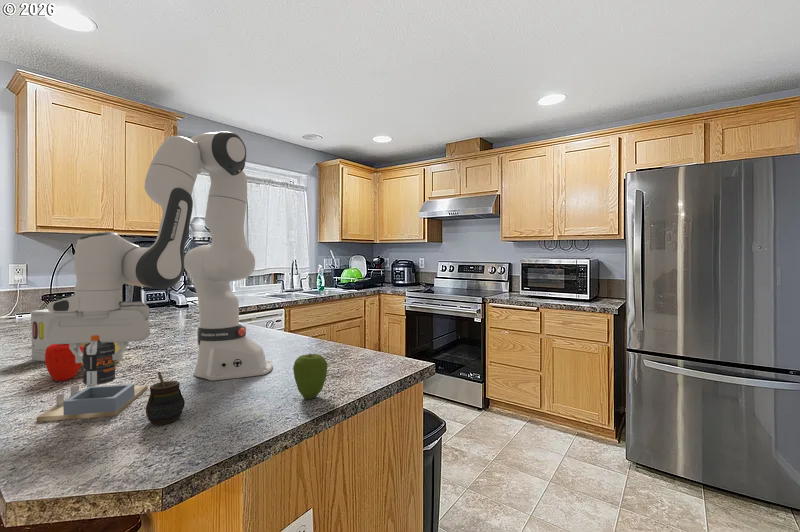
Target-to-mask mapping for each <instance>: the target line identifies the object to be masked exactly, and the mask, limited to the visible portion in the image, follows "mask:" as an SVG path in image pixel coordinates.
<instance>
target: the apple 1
mask: <svg viewBox="0 0 800 532" xmlns="http://www.w3.org/2000/svg"><path fill="white" fill-rule="evenodd" d="M79 348H80V350H81V351H82V353H83V346H82V344H81V346H80V347H79ZM44 362H45V367H46V371H48V373H49V376H50V377H51V379H52V380H53V381H55V382H64V381H68V380H71V379H72V378H74V377H75V376H76V375H77V374H78V371H79V370H80V368H81V366H82V363H76V362H75V355H74V354H73V353H72V351H71V350H70V349H69V344H52V345H50V346H48V347H47V349H46V351H45V361H44Z"/></svg>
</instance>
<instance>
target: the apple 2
mask: <svg viewBox="0 0 800 532" xmlns="http://www.w3.org/2000/svg"><path fill="white" fill-rule="evenodd" d="M328 366H329V365H328V363H327V360H326V359H325V358H324V356H322V355H321V354H316V353H311V352H309V354H302V355H299V356H298V357H297V358H296V359H295V361H294V364H293V366H292V367H293V368H292V371H293V376H294V380H295V384H296V387H297V390H298V392H299V394H300V395H301V396H302V398H303V399H305V400H311V399H314V398H317V396H318V395H319V394H320V393H321V391H323V388H324V384H325V381H326V379H327V373H328Z"/></svg>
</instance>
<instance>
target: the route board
mask: <svg viewBox="0 0 800 532" xmlns="http://www.w3.org/2000/svg"><path fill="white" fill-rule="evenodd" d="M82 390H83V389H81V390H80V391H82ZM147 390H148V385H136V386H135V385H134V392H135V396H134V397H133V398H131V399H130V400H129V401H128V402H126V403H125V404H124V405H123V406H122V407H120V408H119V409H118V410H117V411H113V412H100V413H87V414H73V415H64V411H63V406H60V407H57V406H56V405H54V406H52V408H50V409H47V410H46V411H44V412H43V413H41V414H39V415H38V416H36V423H38V422H39V423H40V422H51V421H65V420H76V419H79V420H80V419H89V418H90V419H92V418H106V417H116V416H117V415H119V414H120V413H121V412H122V411H123V410H124V409H125V408H127V407H128V406H129V405H130V404H131V403H133V402H134V401H135V400H136V399H137V398H139V397H140V396H141V395H143V394H144V393H145V392H146V391H147ZM68 398H70V396H69V397H68ZM68 398H66V399H64V401H65V400H67V399H68Z"/></svg>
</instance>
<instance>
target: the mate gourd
mask: <svg viewBox="0 0 800 532" xmlns="http://www.w3.org/2000/svg"><path fill="white" fill-rule="evenodd" d="M156 373H157V375H158V379H159V380H160V382H155V383H154V384H151V385H150V386H149V398H148V401H147V403H146V406H145V413H146V416H147V420H148V421H149V422H150V423H151V424H152V425H159V426H160V425H167V424H171V423H173V422H175V421H177V420H178V419H179V418H180V417H181V416H182V414H183V410H184V408H185V403H186V402H185V399H184V397H183V394H182V392H181V388H180V382H179V381H177V380H165V381H164V379H163V376H162V374H161V371H157V372H156Z"/></svg>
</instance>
